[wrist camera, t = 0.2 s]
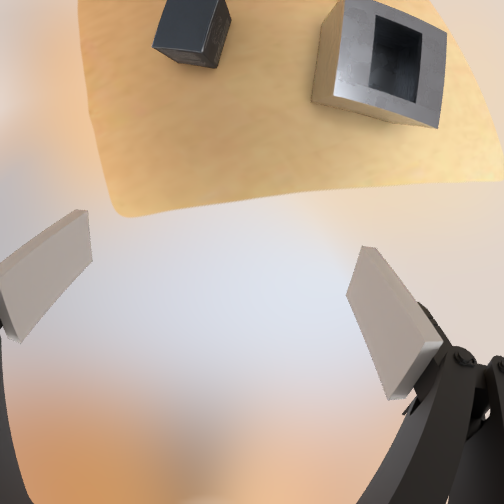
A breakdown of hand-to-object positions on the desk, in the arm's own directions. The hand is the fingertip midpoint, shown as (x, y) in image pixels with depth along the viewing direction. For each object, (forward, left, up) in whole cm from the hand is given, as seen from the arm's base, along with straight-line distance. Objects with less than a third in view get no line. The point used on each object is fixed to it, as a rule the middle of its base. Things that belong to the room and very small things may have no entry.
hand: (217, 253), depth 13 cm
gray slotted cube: (-16, +14, -28) cm, 35 cm away
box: (-17, -7, -28) cm, 33 cm away
